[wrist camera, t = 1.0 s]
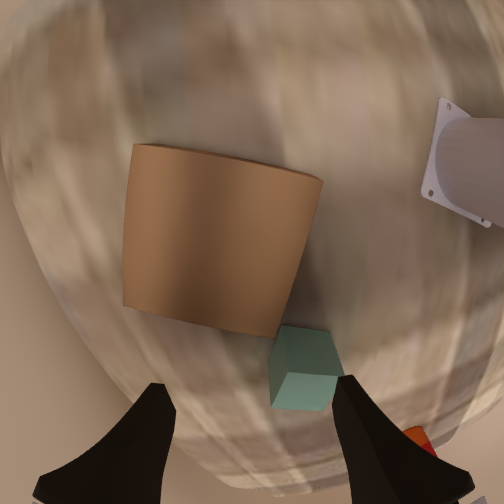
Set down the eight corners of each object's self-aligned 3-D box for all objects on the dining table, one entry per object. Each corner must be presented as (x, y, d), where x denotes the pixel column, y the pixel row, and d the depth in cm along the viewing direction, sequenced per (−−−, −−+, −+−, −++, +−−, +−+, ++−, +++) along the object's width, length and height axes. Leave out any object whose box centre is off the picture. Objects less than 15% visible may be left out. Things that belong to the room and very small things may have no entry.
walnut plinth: (311, 174, 16) (323, 180, 13) (272, 312, 20) (274, 338, 17) (152, 143, 15) (133, 143, 12) (138, 283, 19) (123, 305, 16)
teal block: (329, 331, 20) (345, 376, 16) (312, 366, 22) (322, 410, 17) (281, 324, 20) (287, 371, 15) (268, 360, 22) (270, 407, 17)
